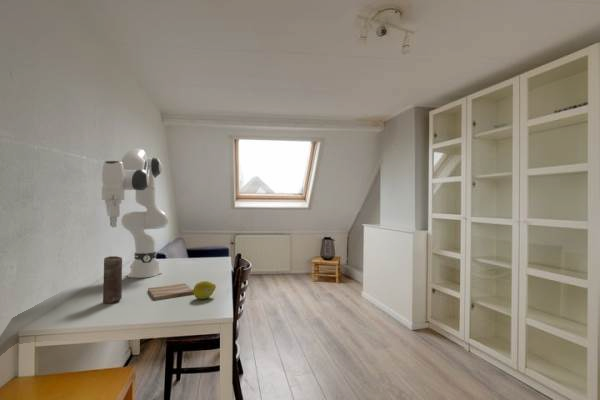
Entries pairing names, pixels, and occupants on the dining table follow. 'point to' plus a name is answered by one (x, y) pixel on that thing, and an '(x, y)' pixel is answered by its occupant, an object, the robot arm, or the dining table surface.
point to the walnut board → (170, 291)
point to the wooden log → (112, 279)
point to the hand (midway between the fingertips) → (113, 226)
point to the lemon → (203, 289)
